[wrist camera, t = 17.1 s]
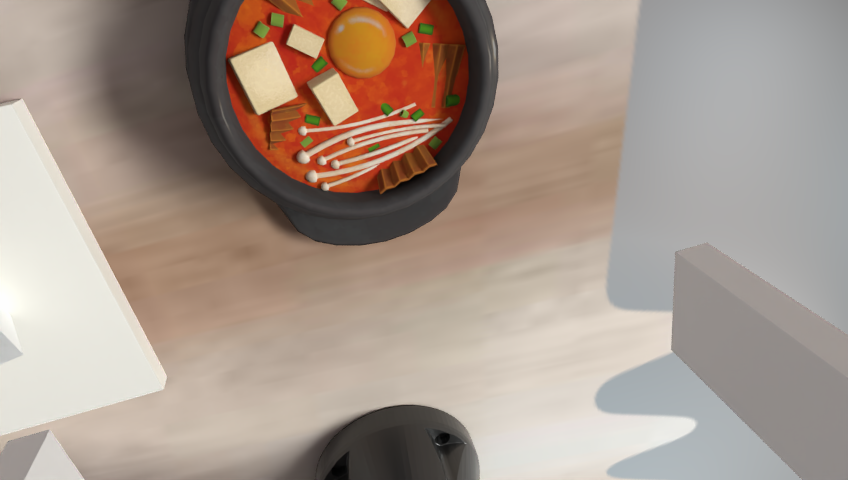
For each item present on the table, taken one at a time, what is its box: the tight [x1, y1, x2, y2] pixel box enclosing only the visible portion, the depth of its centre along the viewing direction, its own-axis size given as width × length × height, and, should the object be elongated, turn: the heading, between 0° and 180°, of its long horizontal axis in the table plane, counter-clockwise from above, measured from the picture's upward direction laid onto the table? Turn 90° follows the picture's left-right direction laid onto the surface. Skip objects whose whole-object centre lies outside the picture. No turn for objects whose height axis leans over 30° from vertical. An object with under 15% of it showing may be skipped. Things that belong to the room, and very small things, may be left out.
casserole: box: [184, 0, 498, 245], centre depth 33 cm, size 25×19×8 cm
